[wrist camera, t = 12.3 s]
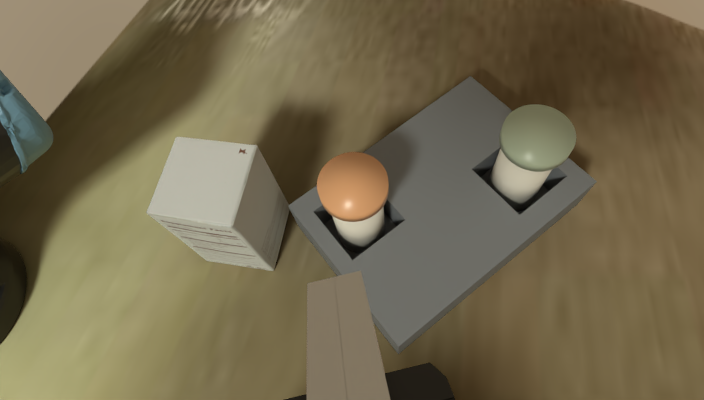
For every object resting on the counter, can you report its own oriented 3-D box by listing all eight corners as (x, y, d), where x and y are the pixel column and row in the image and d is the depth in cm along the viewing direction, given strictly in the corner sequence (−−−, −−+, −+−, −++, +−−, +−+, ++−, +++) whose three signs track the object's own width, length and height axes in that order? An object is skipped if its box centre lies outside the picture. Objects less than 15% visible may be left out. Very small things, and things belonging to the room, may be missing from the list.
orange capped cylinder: (322, 226, 45) (303, 179, 36) (366, 194, 46) (358, 139, 37) (356, 269, 43) (345, 230, 34) (401, 234, 44) (403, 186, 35)
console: (298, 225, 47) (287, 205, 42) (464, 105, 51) (470, 75, 47) (398, 354, 41) (398, 346, 36) (576, 204, 45) (596, 181, 41)
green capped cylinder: (469, 187, 46) (487, 130, 36) (509, 156, 47) (537, 92, 38) (510, 227, 43) (540, 177, 34) (551, 193, 45) (591, 136, 35)
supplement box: (226, 197, 49) (175, 132, 38) (292, 207, 48) (260, 142, 37) (204, 262, 46) (142, 212, 35) (274, 274, 45) (232, 227, 34)
